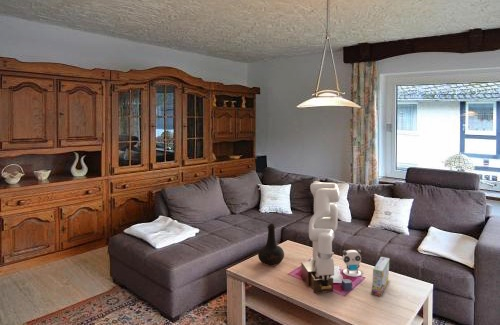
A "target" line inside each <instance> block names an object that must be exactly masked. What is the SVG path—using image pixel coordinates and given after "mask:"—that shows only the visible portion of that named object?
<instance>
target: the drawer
mask: <svg viewBox="0 0 500 325" xmlns="http://www.w3.org/2000/svg"><path fill="white" fill-rule="evenodd" d="M315 274H316V272H315V273H310V285H311V287H310V288H312V290H313V294H318V293H319V294H320V293H328V292H329V293H330V292H334V277H330V278H329V279H328V284H327V286H323V285H322V279H321V278H320V277H316V276H315ZM324 278H325V275H324Z"/></svg>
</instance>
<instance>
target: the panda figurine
mask: <svg viewBox="0 0 500 325" xmlns="http://www.w3.org/2000/svg"><path fill="white" fill-rule="evenodd" d="M341 254H342V261H343V263H344V264H345V266H346V268H344V269H343V270H342V273H343V274H344V275H345V276H347V277H352V278H356V277H357V278H358V277H360V276H361V275H362V272H361V270H359V268H361V267H360V264H361V262H362V254H363V253H362V251H361V249H348V250H345V249H343V250H341Z"/></svg>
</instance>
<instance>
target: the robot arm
mask: <svg viewBox="0 0 500 325" xmlns="http://www.w3.org/2000/svg"><path fill="white" fill-rule="evenodd" d="M309 188H310V193H311V194H312V196H313V215H312V216H311V217H310V219H309V222H308V238H309V240H310V241H311V242H312V256H311V257H310V259H309V261H316V262H315V272H316V274H315V276H316V277H320V278H321V279H322V285H323V286H327V284H328V279H329V278H331V277H333V276H334V275H335V263H334V262H335V261H334V257H333V256H334V255H335V252H333V240H335V232H336V231H337V230H338V222H339V221H338V218H339V217H338V216H339V209H338V204H336V203H338V202H340V190H339V186H338V184H337V183H336V182H311V184H310V186H309ZM324 275H325V278H324Z"/></svg>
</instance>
